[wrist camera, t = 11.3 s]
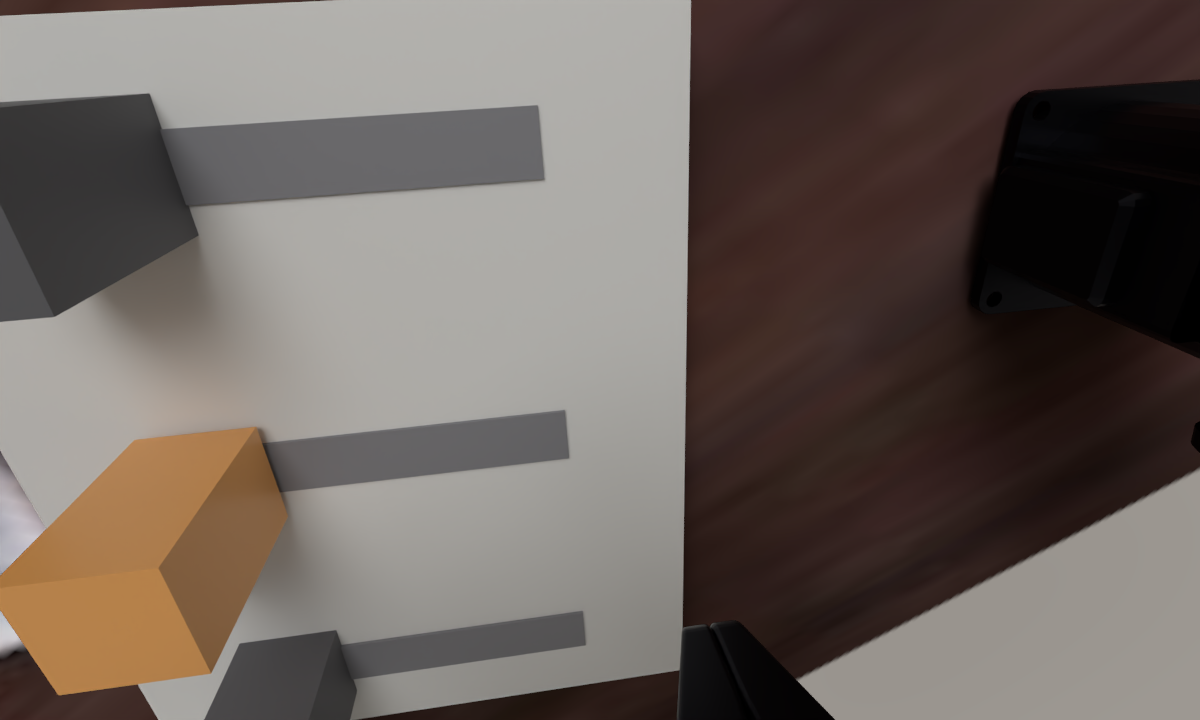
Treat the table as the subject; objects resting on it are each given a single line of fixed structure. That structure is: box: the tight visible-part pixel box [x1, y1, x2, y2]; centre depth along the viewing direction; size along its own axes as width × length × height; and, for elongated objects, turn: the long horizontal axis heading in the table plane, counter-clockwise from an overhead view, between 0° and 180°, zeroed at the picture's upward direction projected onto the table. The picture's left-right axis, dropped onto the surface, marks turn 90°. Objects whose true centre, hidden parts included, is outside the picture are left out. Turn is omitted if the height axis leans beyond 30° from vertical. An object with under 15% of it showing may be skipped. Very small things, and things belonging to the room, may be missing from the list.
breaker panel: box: [0, 0, 691, 720], centre depth 16 cm, size 18×22×7 cm
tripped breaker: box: [0, 427, 288, 695], centre depth 14 cm, size 3×3×5 cm
